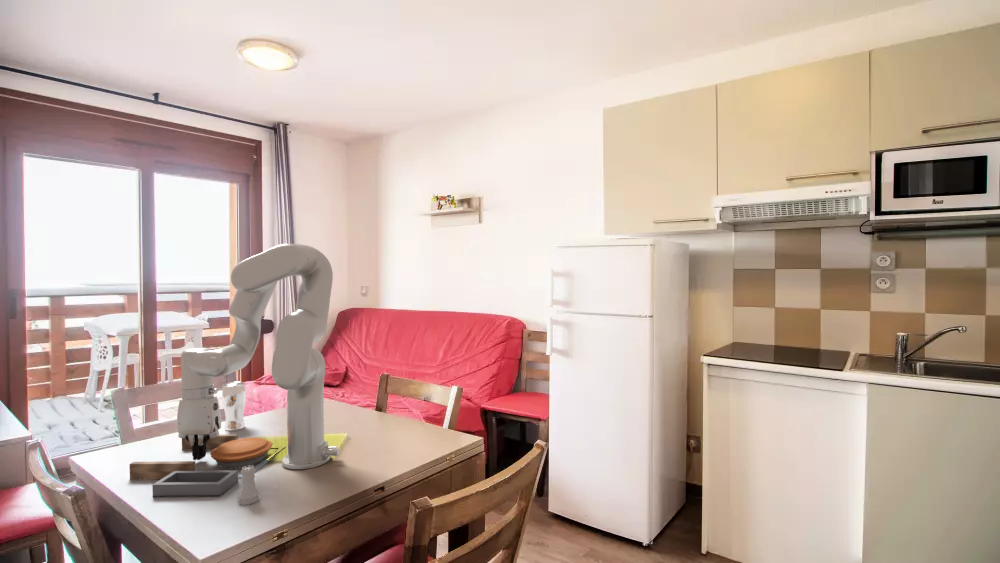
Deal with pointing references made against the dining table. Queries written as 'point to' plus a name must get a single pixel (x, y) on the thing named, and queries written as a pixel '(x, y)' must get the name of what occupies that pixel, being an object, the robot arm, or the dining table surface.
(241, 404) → the beer glass
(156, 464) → the channel walls
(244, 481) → the rook chess piece
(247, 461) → the pie
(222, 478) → the grey tray
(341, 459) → the dining table surface
